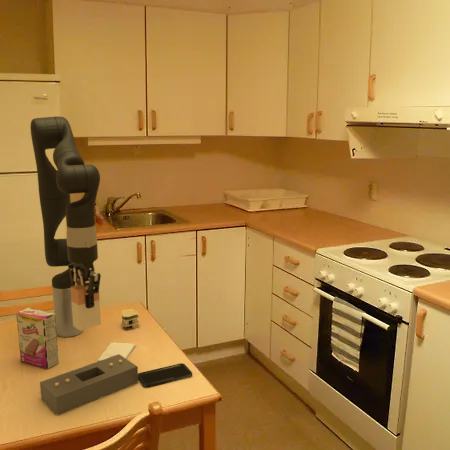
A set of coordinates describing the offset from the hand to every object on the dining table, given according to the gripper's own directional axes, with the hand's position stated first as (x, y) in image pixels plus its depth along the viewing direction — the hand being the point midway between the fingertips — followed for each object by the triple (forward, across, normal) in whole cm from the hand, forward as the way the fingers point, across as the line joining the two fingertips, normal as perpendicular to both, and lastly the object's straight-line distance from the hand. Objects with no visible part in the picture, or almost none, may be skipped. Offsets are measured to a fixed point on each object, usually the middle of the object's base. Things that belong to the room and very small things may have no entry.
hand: (85, 304), depth 137 cm
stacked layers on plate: (+26, -30, +31) cm, 50 cm away
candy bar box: (+25, -25, -4) cm, 36 cm away
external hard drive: (+26, -14, +16) cm, 34 cm away
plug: (+6, 0, 0) cm, 6 cm away
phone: (+26, +7, +20) cm, 33 cm away
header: (+25, 0, 0) cm, 25 cm away
